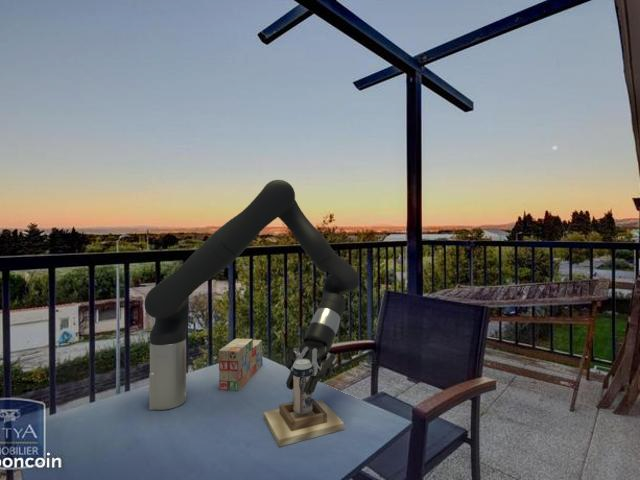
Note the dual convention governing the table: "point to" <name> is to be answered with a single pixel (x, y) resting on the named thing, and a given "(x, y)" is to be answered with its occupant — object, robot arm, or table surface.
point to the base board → (301, 423)
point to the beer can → (301, 386)
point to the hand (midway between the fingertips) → (298, 390)
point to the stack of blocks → (239, 363)
